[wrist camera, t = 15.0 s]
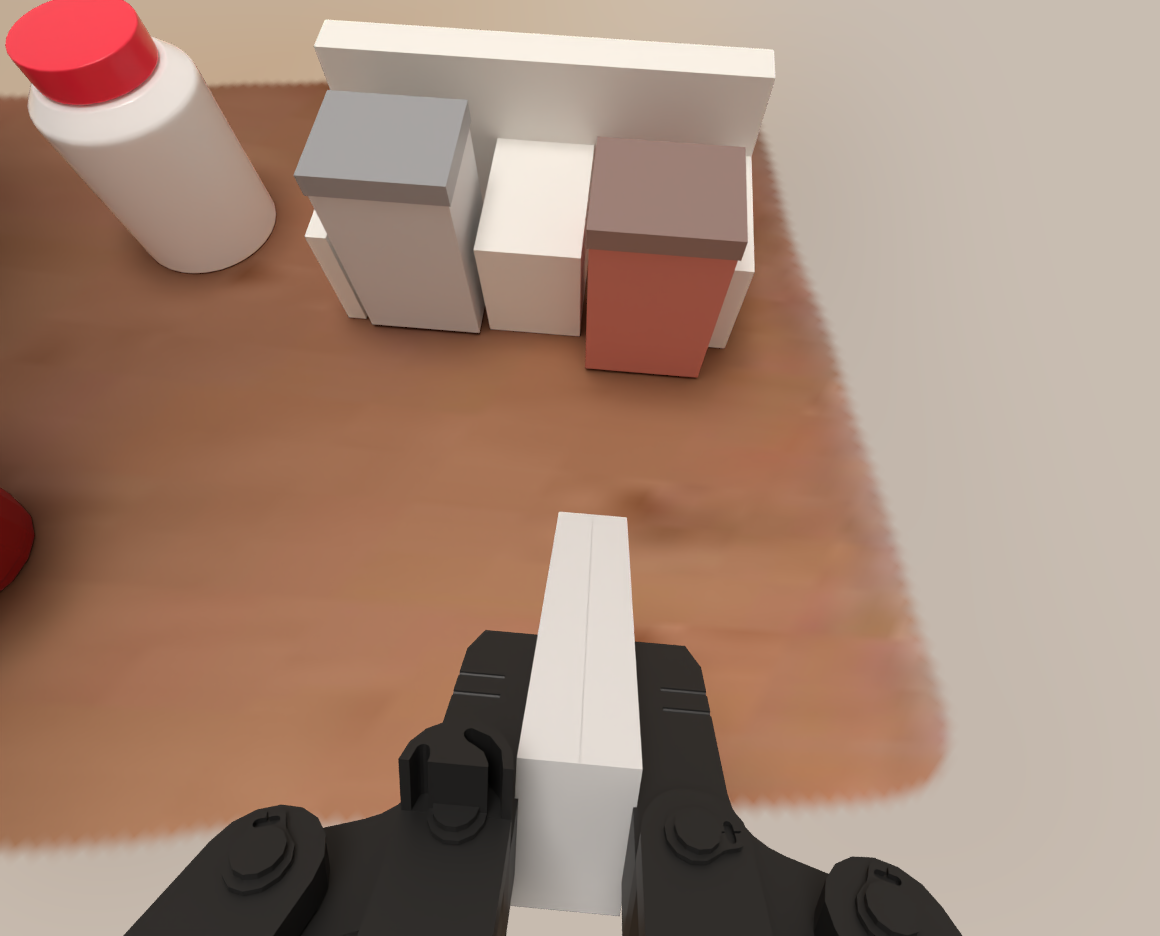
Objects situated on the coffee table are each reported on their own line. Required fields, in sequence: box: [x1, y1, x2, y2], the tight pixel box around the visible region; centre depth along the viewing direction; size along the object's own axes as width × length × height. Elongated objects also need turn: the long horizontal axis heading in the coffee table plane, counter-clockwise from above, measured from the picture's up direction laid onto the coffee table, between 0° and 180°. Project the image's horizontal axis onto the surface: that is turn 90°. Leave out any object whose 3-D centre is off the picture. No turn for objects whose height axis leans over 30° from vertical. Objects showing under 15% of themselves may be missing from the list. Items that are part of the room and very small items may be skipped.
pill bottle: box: [5, 0, 276, 273], centre depth 31 cm, size 8×8×11 cm
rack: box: [305, 20, 775, 348], centre depth 31 cm, size 21×10×10 cm, turn 85°
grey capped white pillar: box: [294, 90, 485, 333], centre depth 30 cm, size 6×5×10 cm
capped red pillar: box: [585, 136, 748, 377], centre depth 29 cm, size 6×5×10 cm
